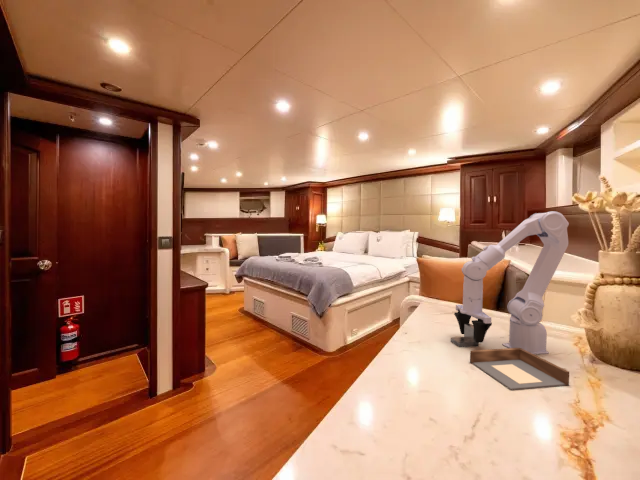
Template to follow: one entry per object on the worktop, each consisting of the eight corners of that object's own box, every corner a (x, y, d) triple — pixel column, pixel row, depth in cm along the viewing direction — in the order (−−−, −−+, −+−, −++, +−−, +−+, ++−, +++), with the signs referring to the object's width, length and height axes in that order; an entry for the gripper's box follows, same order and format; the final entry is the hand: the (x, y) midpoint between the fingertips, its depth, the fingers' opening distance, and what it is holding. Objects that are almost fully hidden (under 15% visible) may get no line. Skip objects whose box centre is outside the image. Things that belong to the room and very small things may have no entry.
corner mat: (519, 358, 81) (519, 357, 81) (568, 385, 67) (568, 383, 67) (470, 362, 79) (470, 360, 79) (510, 390, 65) (510, 388, 65)
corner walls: (519, 358, 81) (519, 347, 81) (568, 385, 67) (569, 371, 67) (470, 362, 79) (470, 350, 79) (510, 390, 65) (511, 376, 65)
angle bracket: (469, 340, 95) (469, 323, 94) (478, 346, 90) (479, 328, 90) (450, 341, 94) (451, 324, 93) (459, 347, 89) (459, 329, 89)
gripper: (448, 292, 98) (447, 330, 99) (477, 303, 84) (475, 347, 84) (466, 292, 99) (465, 329, 100) (498, 302, 85) (496, 346, 85)
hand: (471, 337), depth 92 cm, fingers open, 7 cm apart
